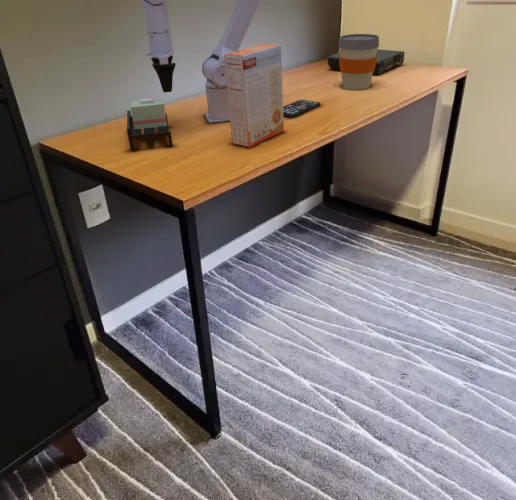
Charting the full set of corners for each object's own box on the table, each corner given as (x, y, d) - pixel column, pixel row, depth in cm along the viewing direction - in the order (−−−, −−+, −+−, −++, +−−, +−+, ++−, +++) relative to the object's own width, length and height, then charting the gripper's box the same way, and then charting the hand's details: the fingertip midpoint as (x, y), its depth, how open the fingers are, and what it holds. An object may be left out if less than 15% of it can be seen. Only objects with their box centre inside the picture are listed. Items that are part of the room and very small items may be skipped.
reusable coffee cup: (329, 86, 162) (330, 37, 154) (355, 79, 168) (358, 32, 160) (356, 93, 153) (360, 41, 145) (383, 85, 159) (388, 36, 151)
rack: (168, 126, 132) (165, 106, 129) (172, 146, 118) (169, 124, 115) (130, 131, 130) (126, 110, 128) (131, 151, 117) (126, 129, 114)
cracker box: (266, 128, 127) (262, 42, 116) (284, 132, 124) (283, 44, 113) (230, 143, 118) (223, 52, 107) (249, 148, 115) (243, 54, 104)
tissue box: (166, 120, 125) (162, 95, 122) (167, 126, 121) (163, 100, 118) (134, 123, 124) (129, 98, 121) (134, 129, 120) (129, 104, 117)
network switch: (384, 76, 170) (386, 61, 167) (323, 71, 181) (324, 57, 178) (405, 63, 187) (407, 49, 184) (348, 59, 198) (349, 46, 195)
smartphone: (321, 102, 143) (292, 115, 133) (321, 105, 143) (292, 117, 134) (300, 99, 147) (270, 111, 137) (300, 101, 147) (270, 114, 138)
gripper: (141, 29, 126) (150, 83, 133) (143, 37, 114) (152, 96, 121) (169, 27, 127) (176, 81, 134) (173, 35, 115) (180, 93, 122)
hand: (166, 88), depth 128 cm, fingers open, 7 cm apart
